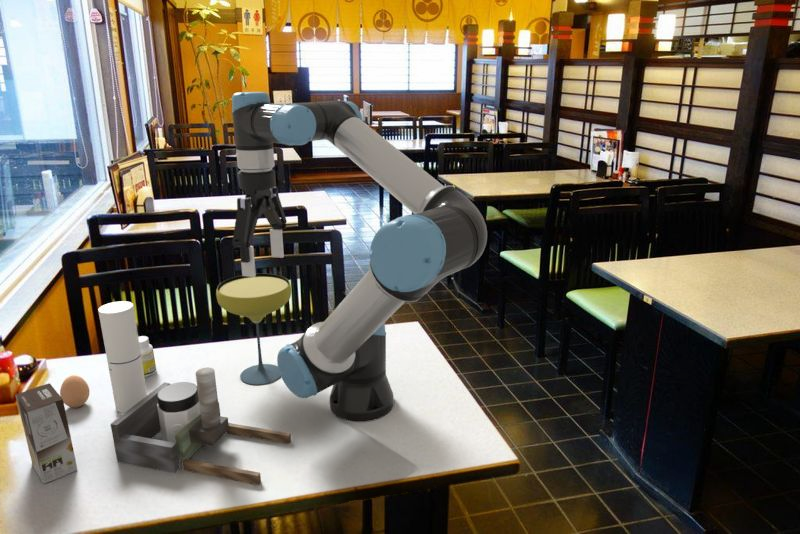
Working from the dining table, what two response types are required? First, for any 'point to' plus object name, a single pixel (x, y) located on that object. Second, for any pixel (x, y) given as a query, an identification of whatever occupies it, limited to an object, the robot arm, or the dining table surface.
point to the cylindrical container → (123, 354)
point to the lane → (144, 451)
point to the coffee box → (47, 432)
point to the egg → (74, 391)
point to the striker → (203, 418)
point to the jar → (177, 408)
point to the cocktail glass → (255, 312)
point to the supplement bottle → (147, 356)
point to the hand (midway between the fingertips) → (264, 266)
